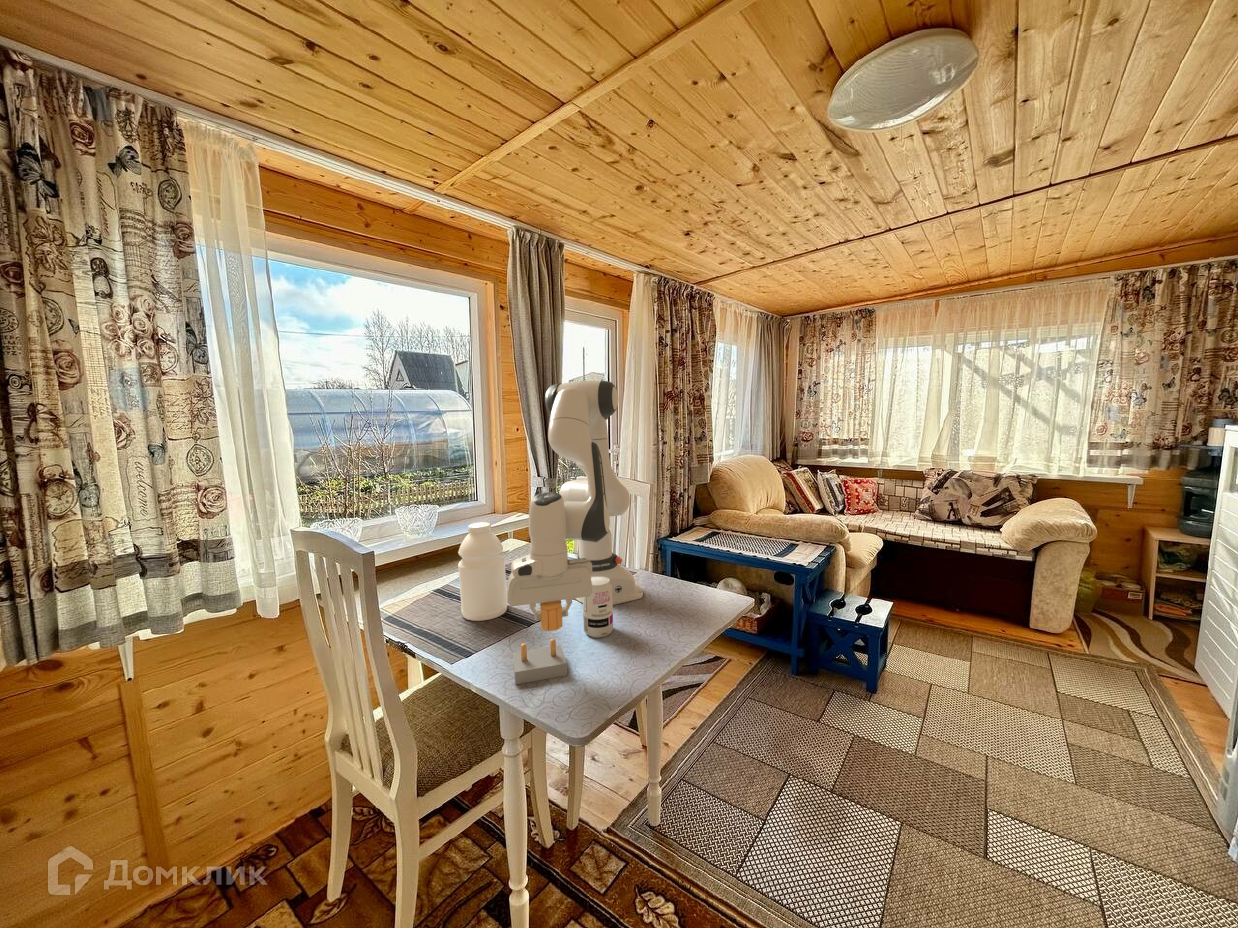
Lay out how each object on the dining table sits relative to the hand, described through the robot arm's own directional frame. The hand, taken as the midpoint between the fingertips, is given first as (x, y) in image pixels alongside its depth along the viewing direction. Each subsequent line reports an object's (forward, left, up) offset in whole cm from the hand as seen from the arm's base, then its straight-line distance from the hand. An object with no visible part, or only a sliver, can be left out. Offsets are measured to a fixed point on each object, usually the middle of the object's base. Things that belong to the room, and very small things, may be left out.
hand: (551, 617), depth 111 cm
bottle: (+16, -38, -13) cm, 43 cm away
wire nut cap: (0, 0, -2) cm, 2 cm away
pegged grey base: (+3, 0, -13) cm, 13 cm away
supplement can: (-15, -14, -13) cm, 24 cm away
